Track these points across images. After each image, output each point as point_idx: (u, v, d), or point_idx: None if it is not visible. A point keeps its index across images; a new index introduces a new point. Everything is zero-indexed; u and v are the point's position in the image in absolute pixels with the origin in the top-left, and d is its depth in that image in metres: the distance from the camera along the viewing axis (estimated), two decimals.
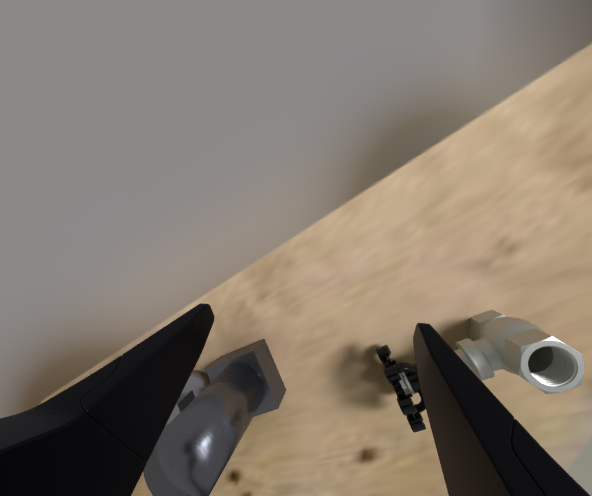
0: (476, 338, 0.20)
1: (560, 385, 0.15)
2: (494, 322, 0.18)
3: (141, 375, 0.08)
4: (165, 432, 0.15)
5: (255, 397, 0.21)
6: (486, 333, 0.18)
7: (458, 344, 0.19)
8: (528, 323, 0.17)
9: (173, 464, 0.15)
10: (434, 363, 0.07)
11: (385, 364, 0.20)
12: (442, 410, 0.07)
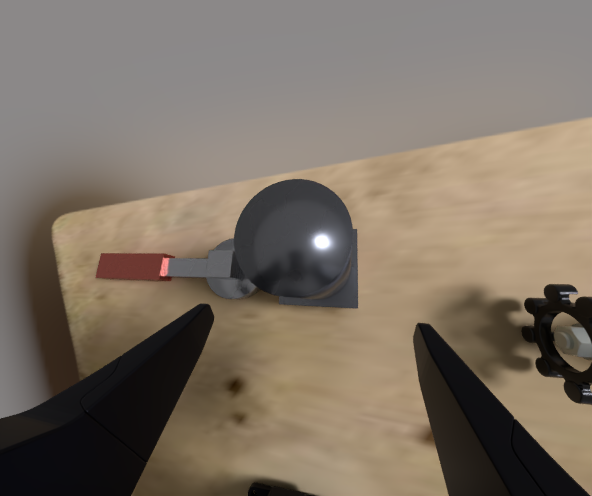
0: None
1: None
2: None
3: (141, 375, 0.08)
4: (298, 180, 0.10)
5: None
6: None
7: None
8: None
9: (293, 221, 0.10)
10: (434, 363, 0.07)
11: (566, 303, 0.14)
12: (442, 410, 0.07)
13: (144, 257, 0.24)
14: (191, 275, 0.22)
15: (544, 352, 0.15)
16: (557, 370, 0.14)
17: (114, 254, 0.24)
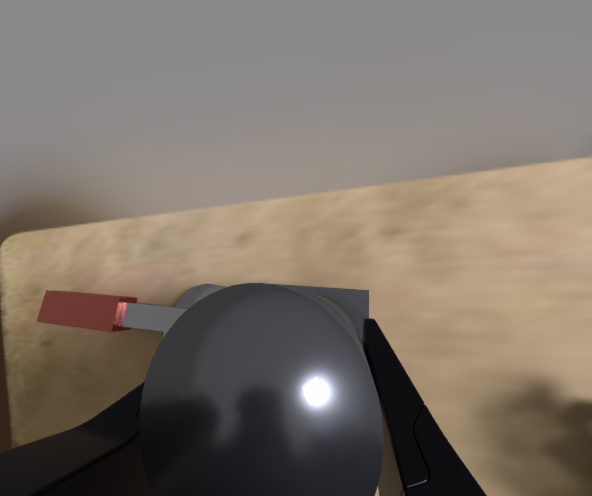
0: None
1: None
2: None
3: None
4: (272, 284, 0.05)
5: None
6: None
7: None
8: None
9: (256, 381, 0.05)
10: (368, 355, 0.07)
11: None
12: None
13: (96, 300, 0.19)
14: (152, 328, 0.17)
15: None
16: None
17: (61, 293, 0.20)
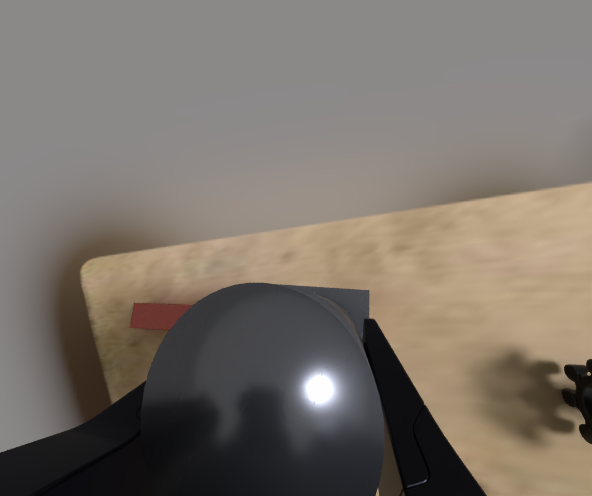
0: None
1: None
2: None
3: None
4: (273, 284, 0.05)
5: None
6: None
7: None
8: None
9: (257, 381, 0.05)
10: (368, 355, 0.07)
11: None
12: None
13: (177, 308, 0.25)
14: None
15: (588, 420, 0.16)
16: None
17: (147, 304, 0.25)
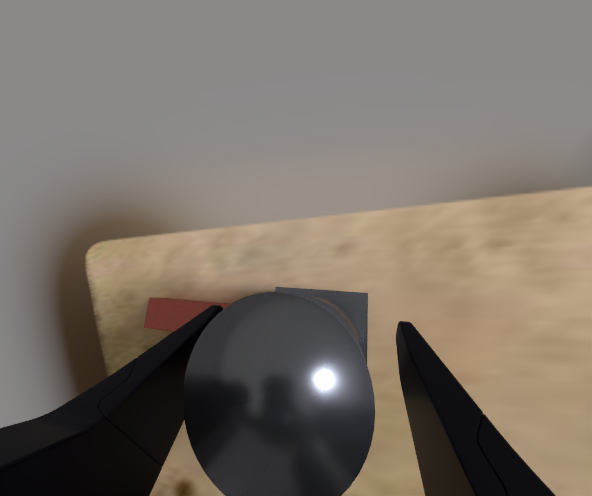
0: None
1: None
2: None
3: (157, 378, 0.07)
4: (288, 293, 0.06)
5: None
6: None
7: None
8: None
9: (276, 369, 0.06)
10: (411, 360, 0.07)
11: None
12: (418, 406, 0.07)
13: (204, 307, 0.20)
14: None
15: None
16: None
17: (166, 300, 0.21)
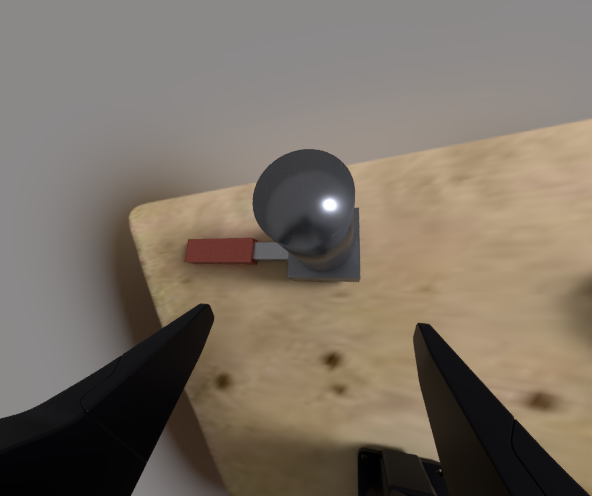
0: None
1: None
2: None
3: (141, 375, 0.08)
4: (307, 150, 0.12)
5: (352, 241, 0.17)
6: None
7: None
8: None
9: (303, 184, 0.11)
10: (434, 363, 0.07)
11: None
12: (442, 410, 0.07)
13: (233, 241, 0.25)
14: (282, 257, 0.24)
15: None
16: None
17: (202, 239, 0.26)
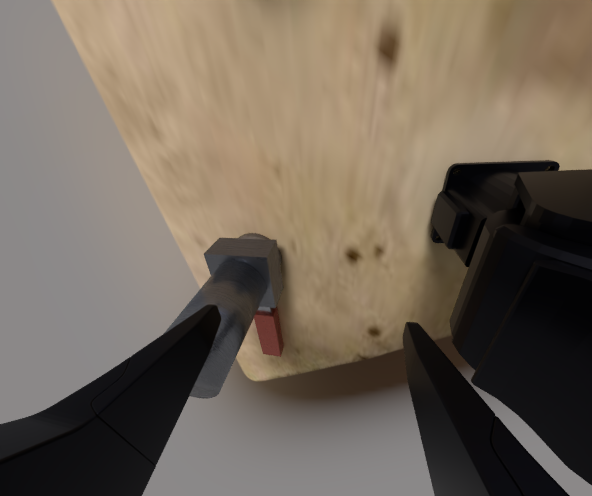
0: None
1: None
2: None
3: (151, 377, 0.07)
4: None
5: (231, 274, 0.19)
6: None
7: None
8: None
9: None
10: (420, 361, 0.07)
11: None
12: (427, 408, 0.07)
13: (259, 327, 0.30)
14: None
15: None
16: None
17: (261, 345, 0.32)
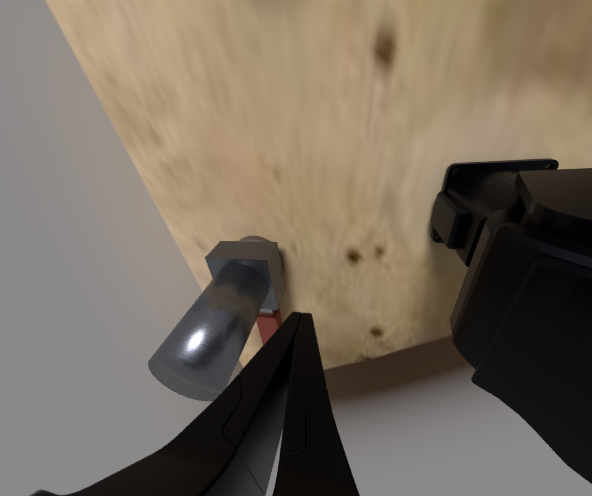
0: None
1: None
2: None
3: (268, 398, 0.07)
4: (152, 370, 0.15)
5: (232, 277, 0.19)
6: None
7: None
8: None
9: (177, 377, 0.14)
10: (293, 346, 0.08)
11: None
12: None
13: (261, 328, 0.30)
14: None
15: None
16: None
17: None
